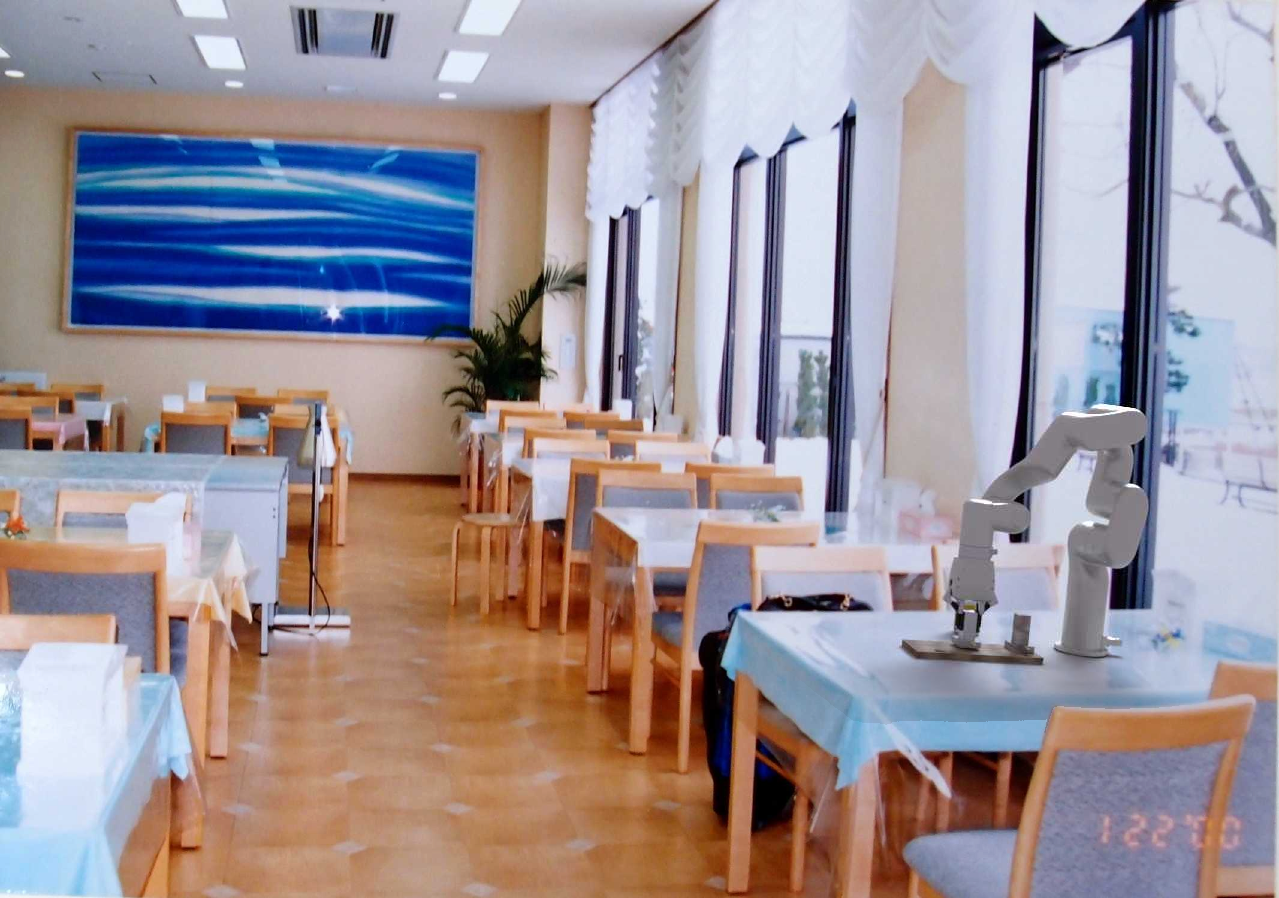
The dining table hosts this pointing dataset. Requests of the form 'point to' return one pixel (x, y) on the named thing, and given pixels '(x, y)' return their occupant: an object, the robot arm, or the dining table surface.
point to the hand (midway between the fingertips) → (967, 629)
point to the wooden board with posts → (983, 647)
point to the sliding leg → (968, 632)
